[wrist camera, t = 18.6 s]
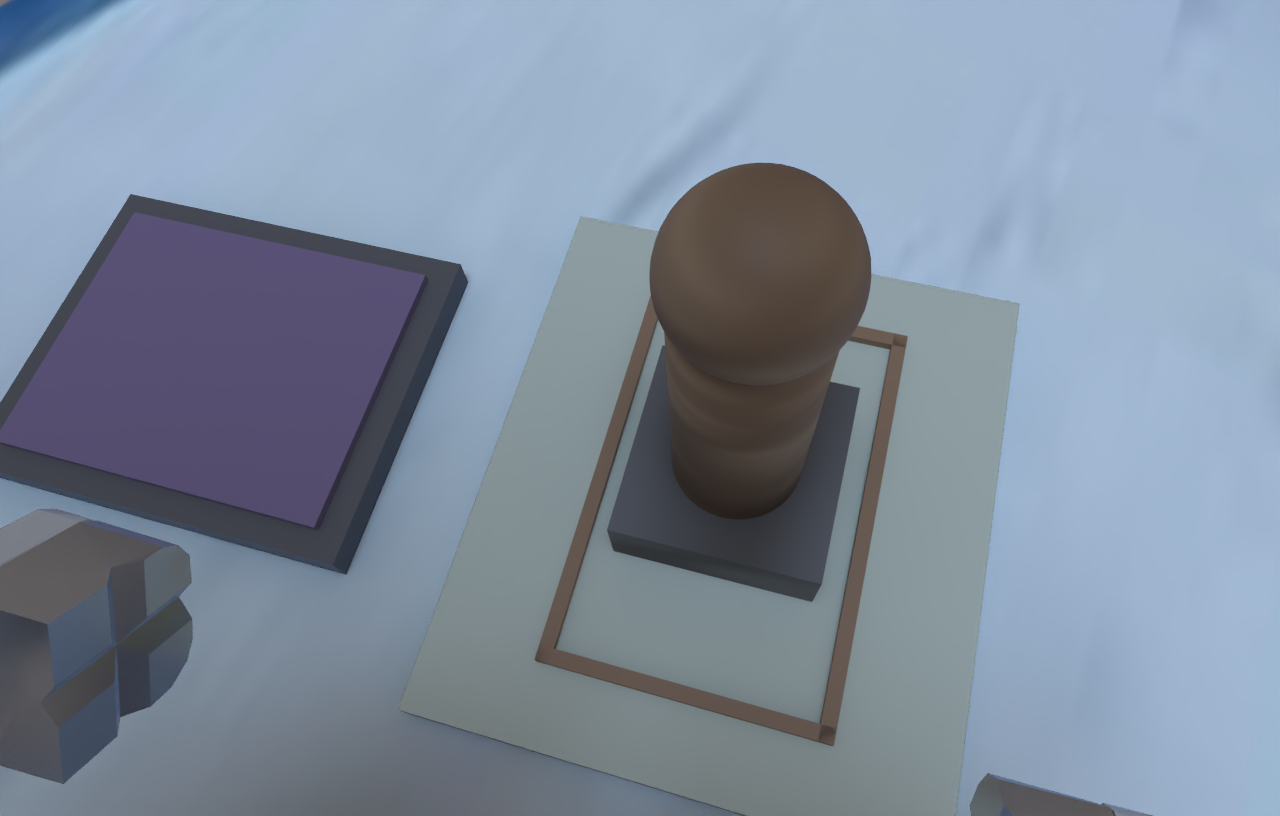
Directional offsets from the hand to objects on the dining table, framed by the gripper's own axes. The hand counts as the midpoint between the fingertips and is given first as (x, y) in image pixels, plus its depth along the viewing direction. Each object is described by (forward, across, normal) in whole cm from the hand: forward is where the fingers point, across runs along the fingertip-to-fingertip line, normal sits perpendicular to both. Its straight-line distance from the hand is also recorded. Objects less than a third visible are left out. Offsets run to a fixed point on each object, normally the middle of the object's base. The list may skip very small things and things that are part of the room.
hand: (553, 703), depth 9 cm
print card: (+16, -1, +5) cm, 17 cm away
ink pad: (+16, +15, +5) cm, 23 cm away
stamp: (+16, -1, +5) cm, 17 cm away
